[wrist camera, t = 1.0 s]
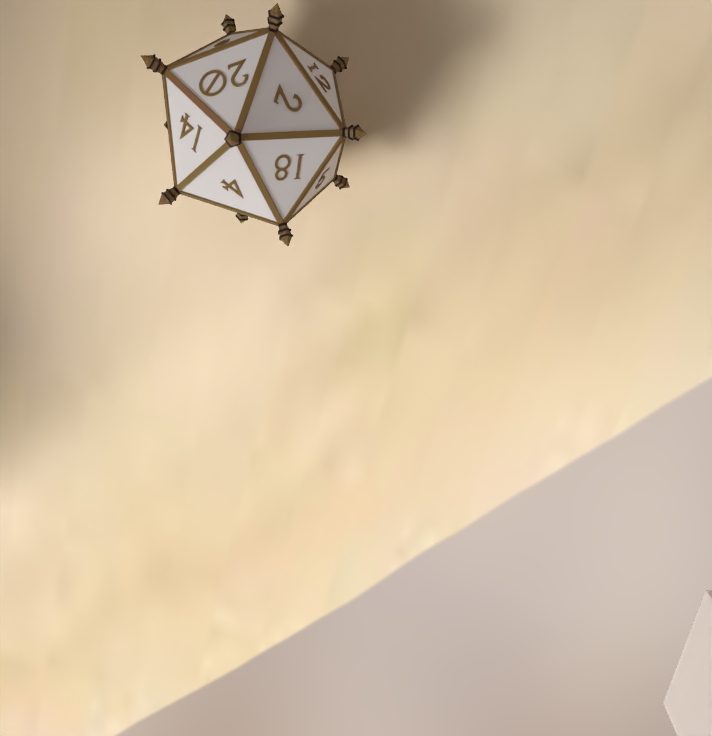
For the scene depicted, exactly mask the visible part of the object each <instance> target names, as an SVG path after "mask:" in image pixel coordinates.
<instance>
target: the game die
mask: <svg viewBox="0 0 712 736" xmlns="http://www.w3.org/2000/svg"><path fill="white" fill-rule="evenodd" d="M268 14H269V17H268V24H269V27H268V28H261V29H254V30H246V31H239V32H235V31H236V26H235V22H234V19H232V18H230V17H229V16H228V15H227V14H226V16H225V18H224V21H223V22H222V24H221V25H222V26H223V27H224V28H223V31H225V32H226V33H227V35H225V36H223V37H221V38H219V39H217V40H215V41H214V42H212V43H210V44H208V45H206V46H204V47H202V48H200V49H198V50H196V51H194V52H192V53H190V54H188V55H187V56H185V57H183V58H181V59H179V60H177V61H175V62H173V63H171V64H169V65H167V66H166V65H164V64H163V63H162V62H161V59H158V58H156V57H155V54H154V55H150V56H141V57H142V59H143V60H144V62H145V64H146V66H147V69H152V70H153V72H159V73H161V74H162V80H163V89H164V98H165V107H166V116H167V121H166V123H165V124H164V126H165V127H166V128H167V129H168V134H169V143H170V152H171V162H172V171H173V180H174V187H173V188H171V189H166V190H167V191H165V192H164V193H163V192H162V196H161V199H160V202H159V204H172V202H173V201H174V200H175V201H176V198H177V196H178V195H180V194H182V195H185V196H188V197H191V198H194V199H197V200H200V201H203V202H206V203H209V204H212V205H215V206H219V207H222V208H225V209H228V210H231V211H234V212H237V214H236V217H237V218H238V219H239V221H240V222H241V223H242V222H244V221H245V220H248V216H249V217H252V218H255V219H258V220H261V221H264V222H267V223H271V224H274V225H277V226H279V231H278V234H280V237H279V239H280V240H282V241H283V242H284V243H285V244H286V245H287V246H289V243H290V240H291V237H292V236H293V235H292V234H291V232H290V231H291V229H289V228H288V226H287V223H288V222H289V221H290V220H291V219H292V218H293V217H294V216H295V215H296V214H297V213H299V212H300V211H301V210H302V209H303V208H304V207H305V206H306V205H307V204H308V203H309V202H311V201H312V200H313V199H314V198H315V197H316V196H317V195H318V194H319V193H320V192H321V191H323V190H324V189H325V188H326V187H327V186H328V185H329V184H330V183H331V182H334V183H335V186H336V187H337V186H338V187H339V189H342V188H348V187H349V184H348V181H347V178H344V177H343V176H341V175H337V171H338V166H339V162H340V158H341V154H342V150H343V146H344V142H345V138H346V137H348V138H349V139H351V140H353V139H355V140H357V141H359V139H360V138H361V137H362V136H364V135H365V134H366V132H364V131H363V130H362V129H361V128H360V127H359V125H356V126H353V125H351V126H350V127H348V128H346V125H345V120H344V115H343V110H342V105H341V100H340V96H339V91H338V86H337V81H336V76H335V74H336V72H342V70H343V69H347V67H346V66H347V62H348V59H349V58H347V57H339V56H338V58H337V59H336V60H334V61H333V64H332V65H331V66H329V65H327V64H326V63H325V62H323V61H322V60H320V59H319V58H317V57H316V56H315V55H313V54H312V53H310V52H309V51H307V50H306V49H304V48H303V47H302V46H300V45H299V44H297V43H296V42H294V41H293V40H292V39H290V38H289V37H287V36H286V35H284V34H283V33H281V32H280V31H279V30H278V28H279V26H280V25H281V24H282V23H283V22H282V18H284V15H283V14H282V13H281V10H280V8H279V6H278V3H277V4H276V5H275V6H274V7H273V8H272V9H271V10H268Z"/></svg>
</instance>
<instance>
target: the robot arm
mask: <svg viewBox="0 0 712 736" xmlns="http://www.w3.org/2000/svg"><path fill="white" fill-rule="evenodd" d="M663 704H664V706H665V709H666V711H667V713H668V715H669V717H670V720H671V722H672V724H673V726H674V729H675V731H676V733H677V735H678V736H712V591H710V590H706V592H705V594H704V597H703V599H702V602H701V605H700V607H699V610H698V613H697V615H696V618H695V620H694V623H693V626H692V628H691V631H690V634H689V636H688V639H687V642H686V644H685V647H684V649H683V652H682V655H681V657H680V660H679V663H678V666H677V668H676V671H675V673H674V676H673V678H672V681H671V684H670V686H669V689H668V692H667V694H666V697H665V699H664V702H663Z"/></svg>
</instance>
